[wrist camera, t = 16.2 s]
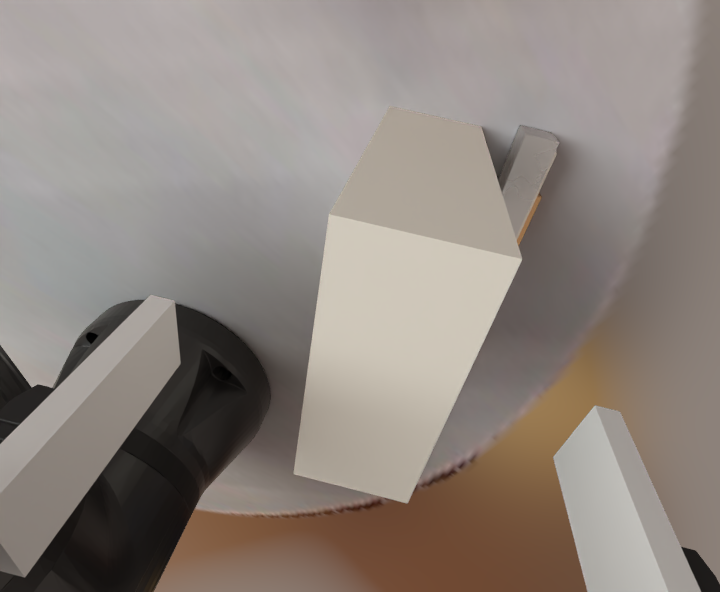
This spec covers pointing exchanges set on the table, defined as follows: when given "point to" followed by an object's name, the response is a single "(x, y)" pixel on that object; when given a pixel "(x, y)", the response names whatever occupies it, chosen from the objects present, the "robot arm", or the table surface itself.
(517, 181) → the rail
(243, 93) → the table surface
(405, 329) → the carton box
